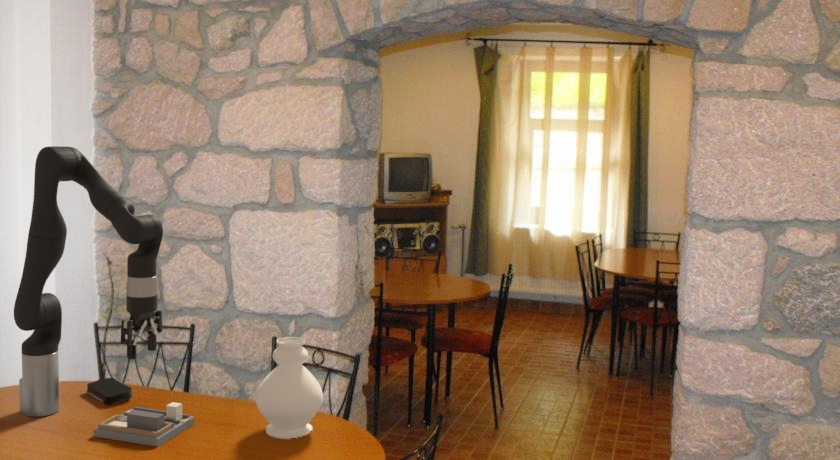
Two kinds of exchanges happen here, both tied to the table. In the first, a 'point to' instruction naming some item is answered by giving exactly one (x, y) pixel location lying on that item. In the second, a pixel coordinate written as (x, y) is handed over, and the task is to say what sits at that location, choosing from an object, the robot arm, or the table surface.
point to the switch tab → (174, 411)
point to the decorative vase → (289, 392)
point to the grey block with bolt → (144, 420)
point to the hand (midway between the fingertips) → (142, 354)
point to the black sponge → (109, 391)
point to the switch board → (121, 432)
